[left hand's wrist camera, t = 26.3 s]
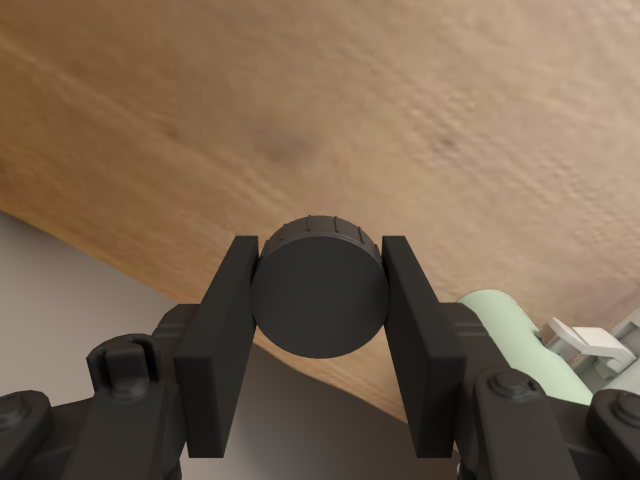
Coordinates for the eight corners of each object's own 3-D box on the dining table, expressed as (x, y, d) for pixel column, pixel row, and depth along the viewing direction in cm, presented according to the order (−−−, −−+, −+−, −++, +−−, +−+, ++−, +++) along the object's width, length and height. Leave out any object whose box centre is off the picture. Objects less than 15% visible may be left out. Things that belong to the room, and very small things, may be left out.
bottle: (531, 297, 31) (1032, 840, 9) (502, 356, 33) (853, 913, 11) (461, 282, 30) (813, 818, 9) (435, 342, 32) (668, 898, 11)
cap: (360, 196, 13) (366, 214, 12) (398, 306, 15) (408, 336, 13) (236, 239, 14) (225, 262, 12) (285, 341, 16) (280, 374, 14)
